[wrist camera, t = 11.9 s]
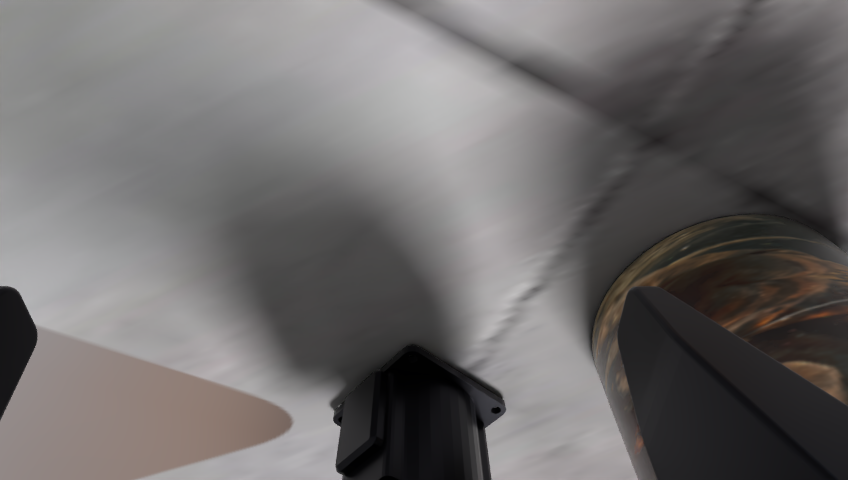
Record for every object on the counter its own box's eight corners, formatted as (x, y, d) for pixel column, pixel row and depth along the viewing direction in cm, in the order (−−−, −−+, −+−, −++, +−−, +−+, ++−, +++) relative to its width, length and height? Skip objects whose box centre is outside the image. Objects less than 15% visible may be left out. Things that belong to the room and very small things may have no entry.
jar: (888, 323, 26) (1357, 741, 13) (671, 440, 30) (861, 841, 17) (771, 159, 21) (1310, 551, 8) (536, 324, 25) (655, 750, 13)
